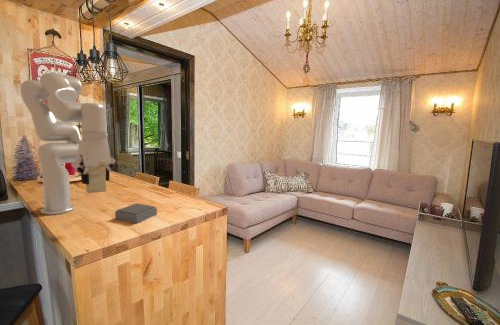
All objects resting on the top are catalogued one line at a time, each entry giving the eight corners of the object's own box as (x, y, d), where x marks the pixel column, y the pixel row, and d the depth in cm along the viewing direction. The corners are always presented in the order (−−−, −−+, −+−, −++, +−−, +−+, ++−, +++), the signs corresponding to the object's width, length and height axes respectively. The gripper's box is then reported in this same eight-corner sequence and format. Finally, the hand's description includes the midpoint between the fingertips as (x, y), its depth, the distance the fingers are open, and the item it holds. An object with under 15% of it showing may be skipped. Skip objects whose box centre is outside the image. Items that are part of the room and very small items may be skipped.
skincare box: (88, 193, 90) (86, 162, 88) (86, 191, 93) (84, 160, 91) (107, 191, 94) (105, 161, 92) (104, 189, 97) (103, 159, 96)
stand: (115, 219, 104) (115, 210, 104) (136, 210, 116) (136, 202, 115) (136, 223, 100) (136, 214, 100) (156, 214, 112) (156, 206, 111)
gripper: (109, 136, 100) (111, 177, 102) (62, 136, 84) (65, 185, 87) (121, 136, 97) (122, 179, 99) (75, 137, 81) (77, 188, 84)
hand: (96, 181), depth 93 cm, fingers closed on skincare box, 7 cm apart
